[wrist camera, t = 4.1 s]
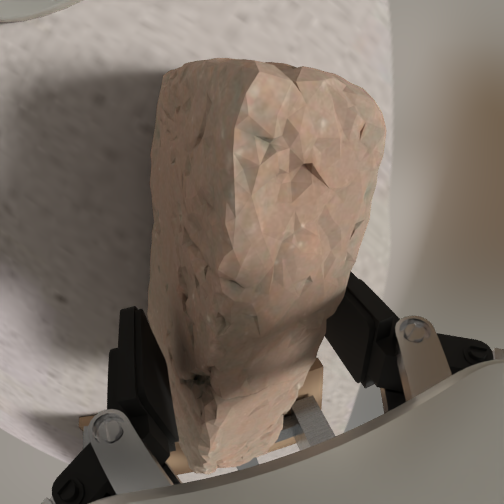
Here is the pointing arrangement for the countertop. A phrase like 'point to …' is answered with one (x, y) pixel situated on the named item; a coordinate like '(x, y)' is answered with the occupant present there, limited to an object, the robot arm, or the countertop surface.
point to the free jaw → (302, 427)
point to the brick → (252, 240)
